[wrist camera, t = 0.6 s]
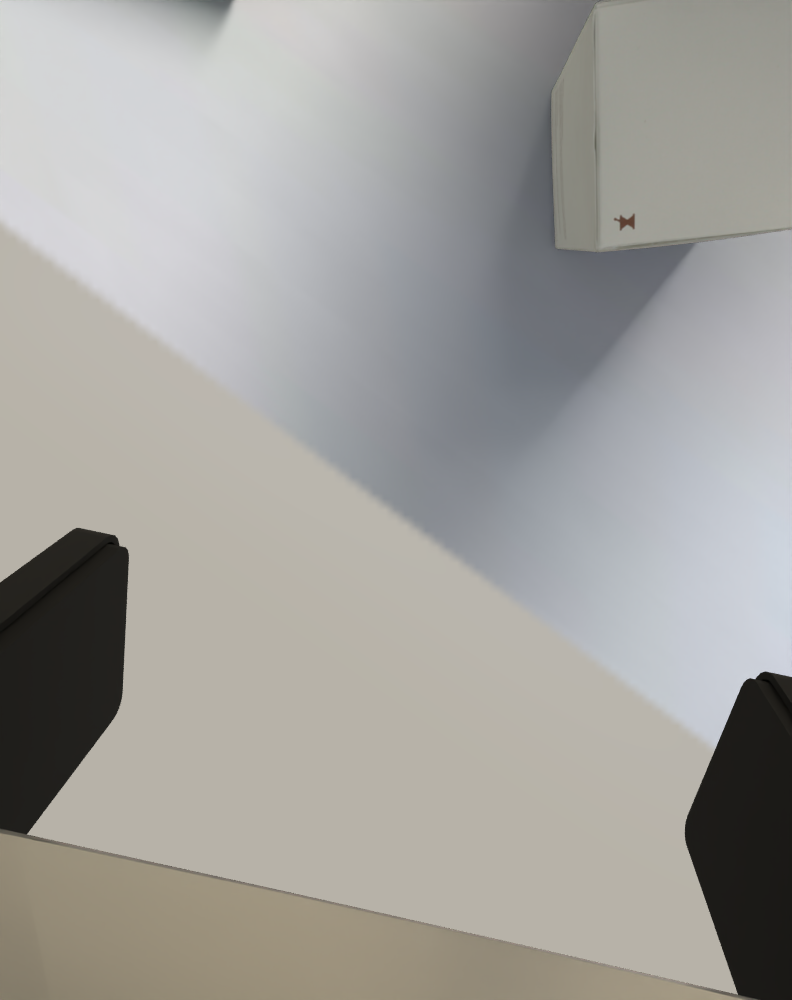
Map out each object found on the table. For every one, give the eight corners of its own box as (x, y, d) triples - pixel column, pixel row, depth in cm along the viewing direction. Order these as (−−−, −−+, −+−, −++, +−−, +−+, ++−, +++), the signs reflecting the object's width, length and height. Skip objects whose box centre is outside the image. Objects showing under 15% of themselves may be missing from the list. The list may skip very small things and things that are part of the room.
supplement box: (706, 236, 35) (823, 235, 23) (551, 250, 36) (588, 256, 24) (715, 63, 33) (851, -37, 21) (548, 83, 34) (588, -1, 22)
